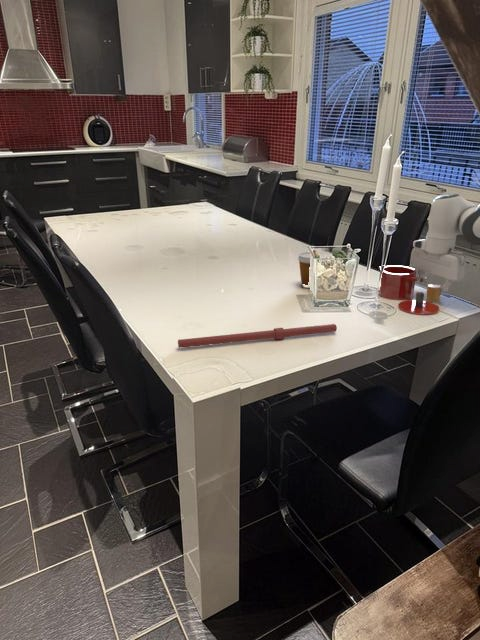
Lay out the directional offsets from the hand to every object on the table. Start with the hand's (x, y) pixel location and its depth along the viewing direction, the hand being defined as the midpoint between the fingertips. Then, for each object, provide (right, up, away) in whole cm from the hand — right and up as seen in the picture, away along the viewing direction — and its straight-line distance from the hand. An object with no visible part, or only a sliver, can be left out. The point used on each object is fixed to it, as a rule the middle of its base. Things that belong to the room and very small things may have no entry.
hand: (433, 286), depth 155 cm
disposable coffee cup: (-38, +2, +21) cm, 43 cm away
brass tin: (0, -5, +2) cm, 5 cm away
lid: (-7, -7, -5) cm, 11 cm away
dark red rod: (-59, -17, -25) cm, 66 cm away
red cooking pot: (-10, -3, +8) cm, 13 cm away
